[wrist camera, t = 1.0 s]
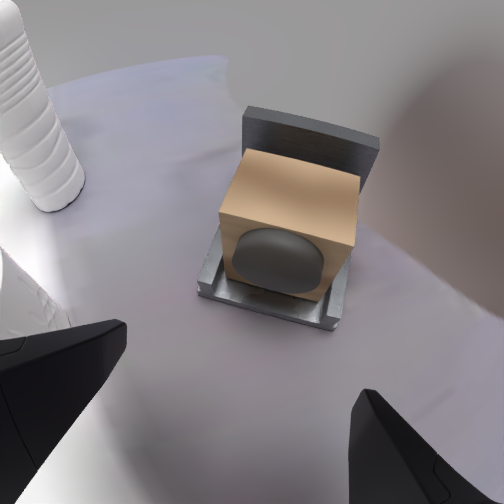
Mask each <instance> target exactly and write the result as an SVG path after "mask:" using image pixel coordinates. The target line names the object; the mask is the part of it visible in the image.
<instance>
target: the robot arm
mask: <svg viewBox="0 0 504 504" xmlns="http://www.w3.org/2000/svg"><path fill="white" fill-rule="evenodd" d="M126 345H127V325H126V323H125V322H122V321H120V320H117V319H112V320H107V321H102V322H97V323H92V324H87V325H82V326H77V327H72V328H67V329H62V330H57V331H51V332H46V333H40V334H35V335H29V336H27V337H26V336H23V337H18V338H11V339H5V340H0V504H15V502H16V501H17V499H18V498H19V496H20V495H21V494H22V492H23V491H24V489H25V488H26V487H27V485H28V484H29V482H30V481H31V480H32V478H33V477H34V476H35V474H36V473H37V471H38V470H39V468H40V467H41V466H42V464H43V463H44V462H45V460H46V459H47V458H48V456H49V455H50V454H51V452H52V451H53V449H54V448H55V447H56V445H57V444H58V443H59V441H60V440H61V439H62V437H63V436H64V435H65V434H66V432H67V431H68V430H69V428H70V427H71V426H72V424H73V423H74V422H75V420H76V419H77V418H78V417H79V415H80V414H81V413H82V411H83V410H84V409H85V407H86V406H87V405H88V404H89V402H90V401H91V400H92V398H93V397H94V396H95V395H96V393H97V392H98V391H99V390H100V388H101V387H102V386H103V384H104V383H105V381H106V380H107V378H108V377H109V375H110V373H111V372H112V370H113V369H114V367H115V365H116V364H117V362H118V360H119V359H120V357H121V355H122V354H123V352H124V351H125V348H126ZM348 461H349V504H501V503H497V502H495V501H493V500H491V499H489V498H488V497H487V496H485V495H484V494H483V493H482V492H480V491H479V490H478V489H477V488H475V487H474V486H473V485H472V484H471V483H469V482H468V481H467V480H466V479H465V478H463V477H462V476H461V475H460V474H459V473H458V472H456V471H455V470H454V469H453V468H452V467H451V466H450V465H449V464H448V463H447V462H446V461H445V460H444V459H443V458H442V457H441V456H440V455H439V454H437V452H436V451H435V450H434V449H433V448H432V447H431V446H430V445H429V444H428V443H427V442H426V441H425V440H424V439H423V438H422V437H421V436H420V435H419V434H418V433H417V432H416V431H415V430H414V429H413V428H412V427H411V426H410V425H409V424H408V423H407V422H406V421H405V420H404V419H403V418H402V417H401V416H400V415H399V413H398V412H397V411H396V410H395V409H394V408H393V407H392V406H391V405H390V404H389V403H388V402H387V401H386V400H385V399H384V398H383V397H382V396H381V395H380V394H379V393H378V392H377V391H376V390H371V389H363V390H362V391H361V393H360V395H359V397H358V399H357V401H356V402H355V404H354V406H353V408H352V412H351V424H350V437H349V450H348Z"/></svg>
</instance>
